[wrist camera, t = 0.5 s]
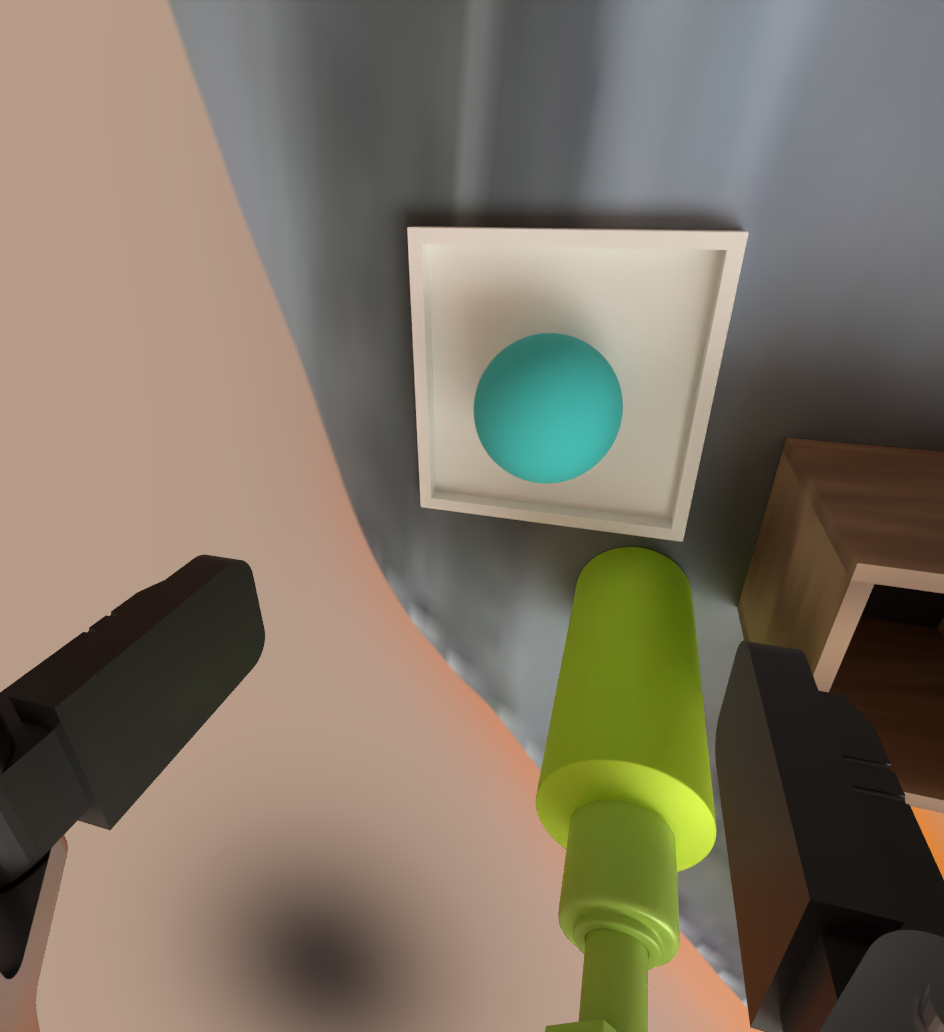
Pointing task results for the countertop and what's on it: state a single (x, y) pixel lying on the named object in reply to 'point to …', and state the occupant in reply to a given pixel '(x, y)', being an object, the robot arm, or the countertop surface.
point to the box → (858, 590)
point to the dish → (597, 321)
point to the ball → (548, 408)
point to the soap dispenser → (626, 778)
